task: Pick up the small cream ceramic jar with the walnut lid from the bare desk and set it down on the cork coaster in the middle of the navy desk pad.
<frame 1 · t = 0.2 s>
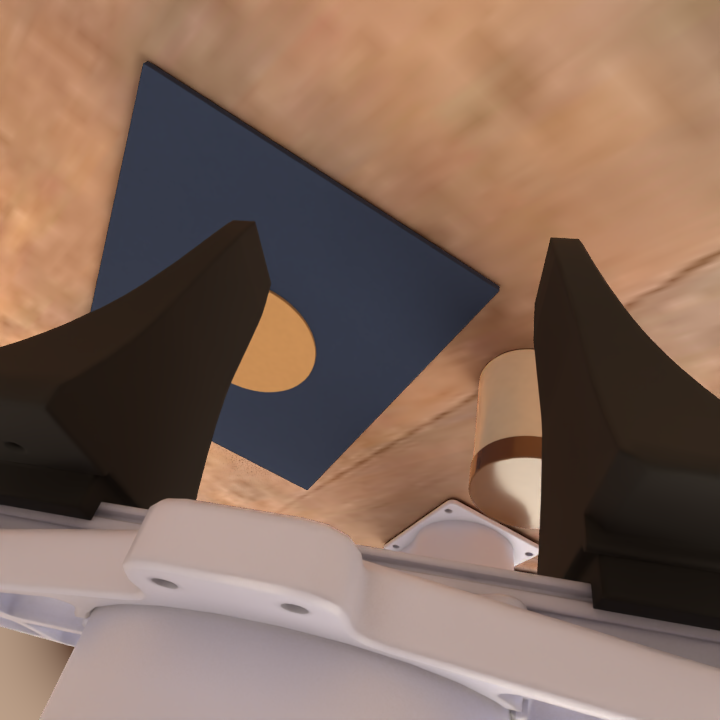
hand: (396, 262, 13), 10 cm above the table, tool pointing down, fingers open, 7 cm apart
desk pad: (251, 335, 30), on the table
jar: (526, 384, 28), on the table
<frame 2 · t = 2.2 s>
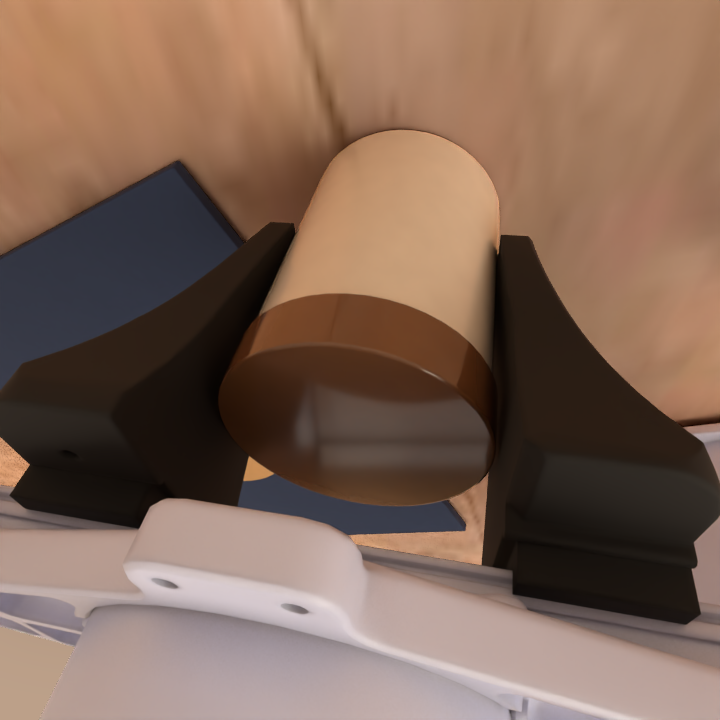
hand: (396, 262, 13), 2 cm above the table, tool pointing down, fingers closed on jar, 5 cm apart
desk pad: (206, 427, 25), on the table
jar: (405, 218, 14), on the table, touching gripper
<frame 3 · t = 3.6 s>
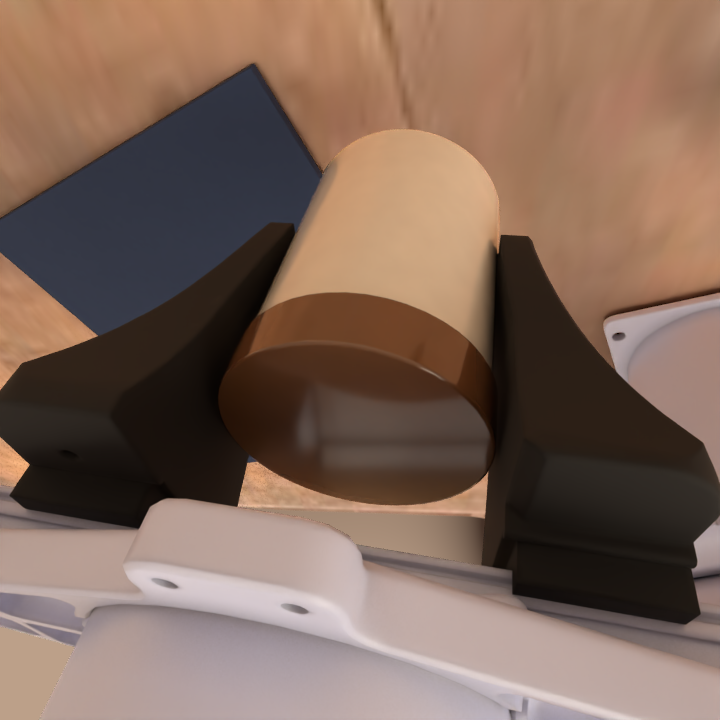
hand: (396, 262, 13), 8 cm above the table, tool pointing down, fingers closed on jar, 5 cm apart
desk pad: (250, 336, 29), on the table
jar: (405, 218, 14), point 6 cm above the table, touching gripper
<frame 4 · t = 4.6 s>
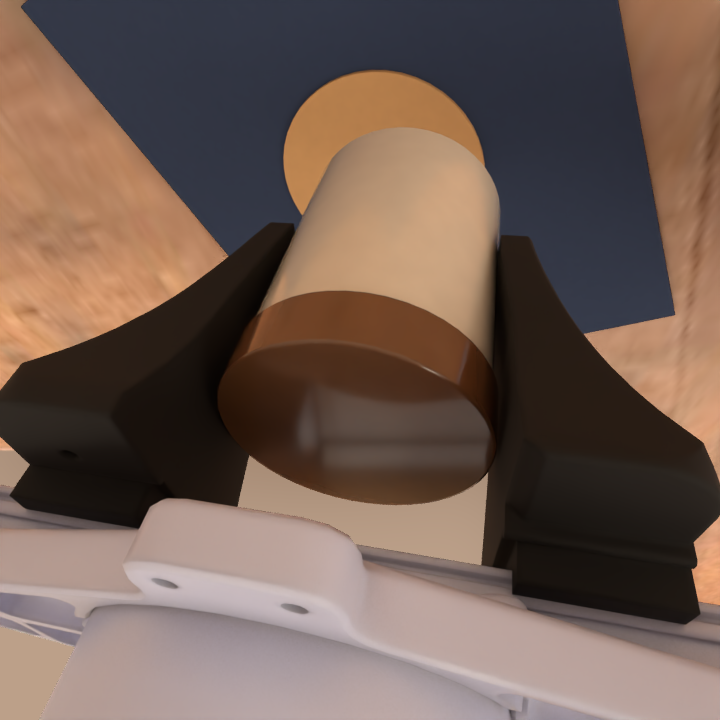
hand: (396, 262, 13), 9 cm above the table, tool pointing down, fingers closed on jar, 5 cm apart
desk pad: (383, 172, 21), on the table
jar: (405, 216, 14), point 7 cm above the table, touching gripper
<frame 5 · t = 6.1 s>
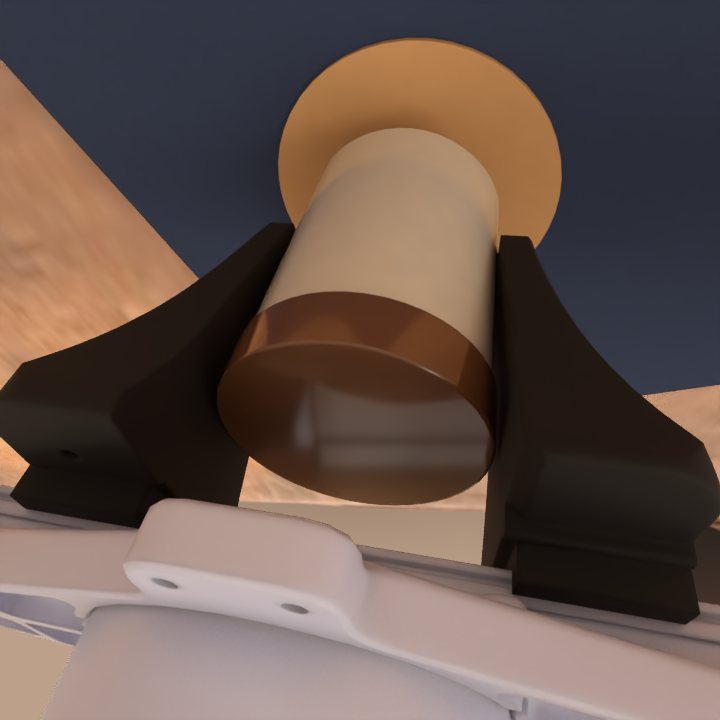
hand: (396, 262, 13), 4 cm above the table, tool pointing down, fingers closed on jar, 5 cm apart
desk pad: (415, 184, 15), on the table
jar: (405, 217, 14), point 2 cm above the table, touching gripper
when the fingers open (2 cm above the table, at t = 7.0 s): jar stays where it is, resting on desk pad.
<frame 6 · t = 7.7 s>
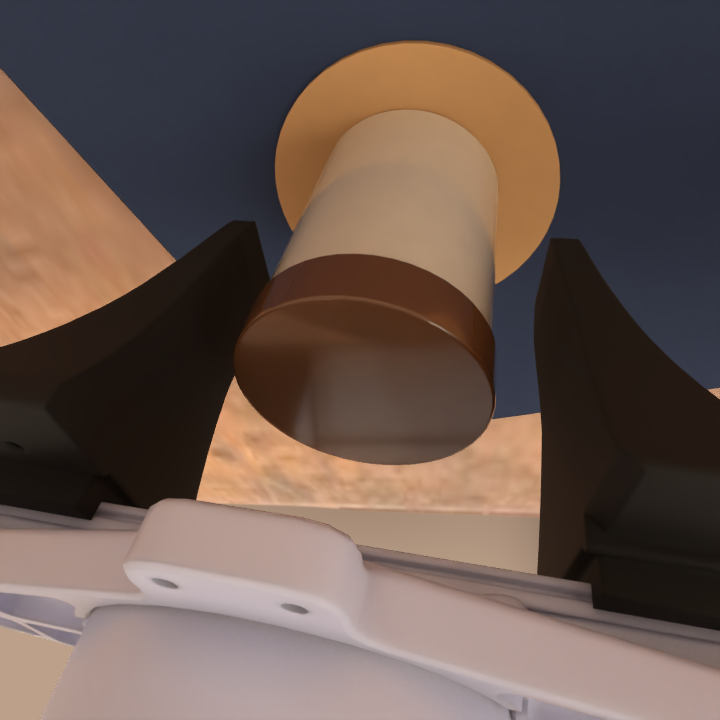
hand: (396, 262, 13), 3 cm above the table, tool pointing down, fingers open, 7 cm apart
desk pad: (413, 187, 15), on the table
jar: (408, 197, 15), point 1 cm above the table, touching desk pad
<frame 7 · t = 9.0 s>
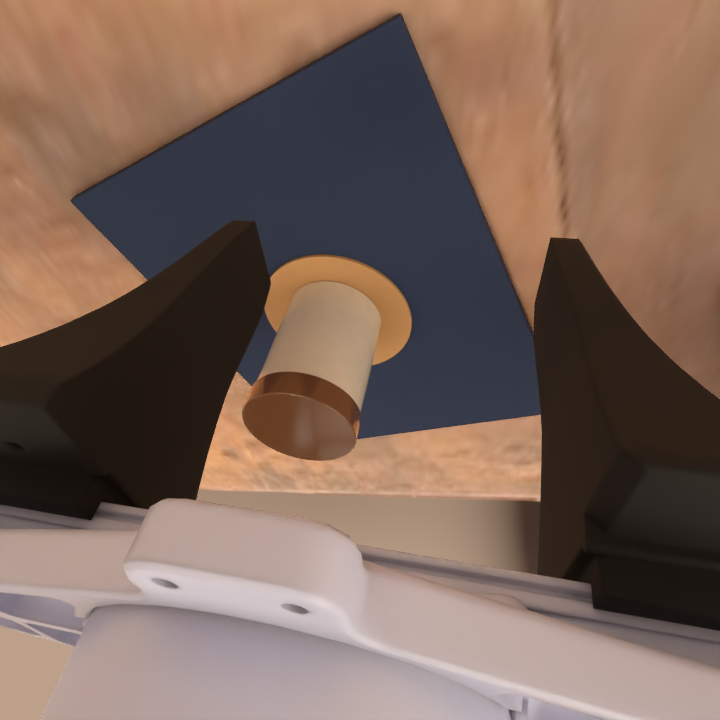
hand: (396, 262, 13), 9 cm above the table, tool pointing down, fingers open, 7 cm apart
desk pad: (338, 310, 28), on the table
jar: (335, 317, 28), point 1 cm above the table, touching desk pad
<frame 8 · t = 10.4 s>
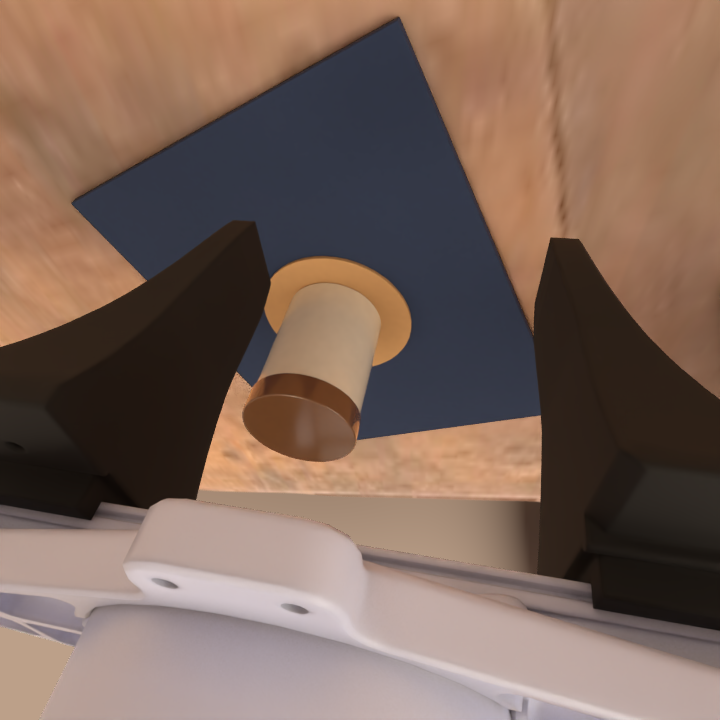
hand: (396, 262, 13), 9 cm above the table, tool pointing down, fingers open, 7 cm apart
desk pad: (338, 311, 28), on the table
jar: (335, 318, 28), point 1 cm above the table, touching desk pad
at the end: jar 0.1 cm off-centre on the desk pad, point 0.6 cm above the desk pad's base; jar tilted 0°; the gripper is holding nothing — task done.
